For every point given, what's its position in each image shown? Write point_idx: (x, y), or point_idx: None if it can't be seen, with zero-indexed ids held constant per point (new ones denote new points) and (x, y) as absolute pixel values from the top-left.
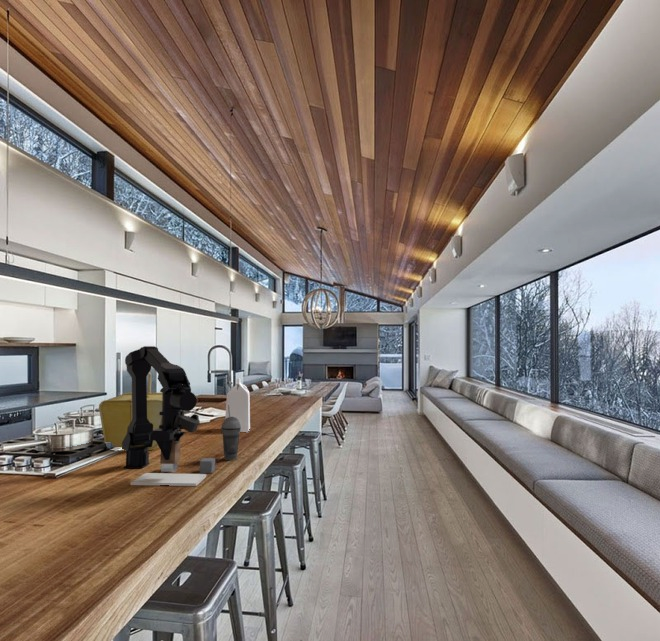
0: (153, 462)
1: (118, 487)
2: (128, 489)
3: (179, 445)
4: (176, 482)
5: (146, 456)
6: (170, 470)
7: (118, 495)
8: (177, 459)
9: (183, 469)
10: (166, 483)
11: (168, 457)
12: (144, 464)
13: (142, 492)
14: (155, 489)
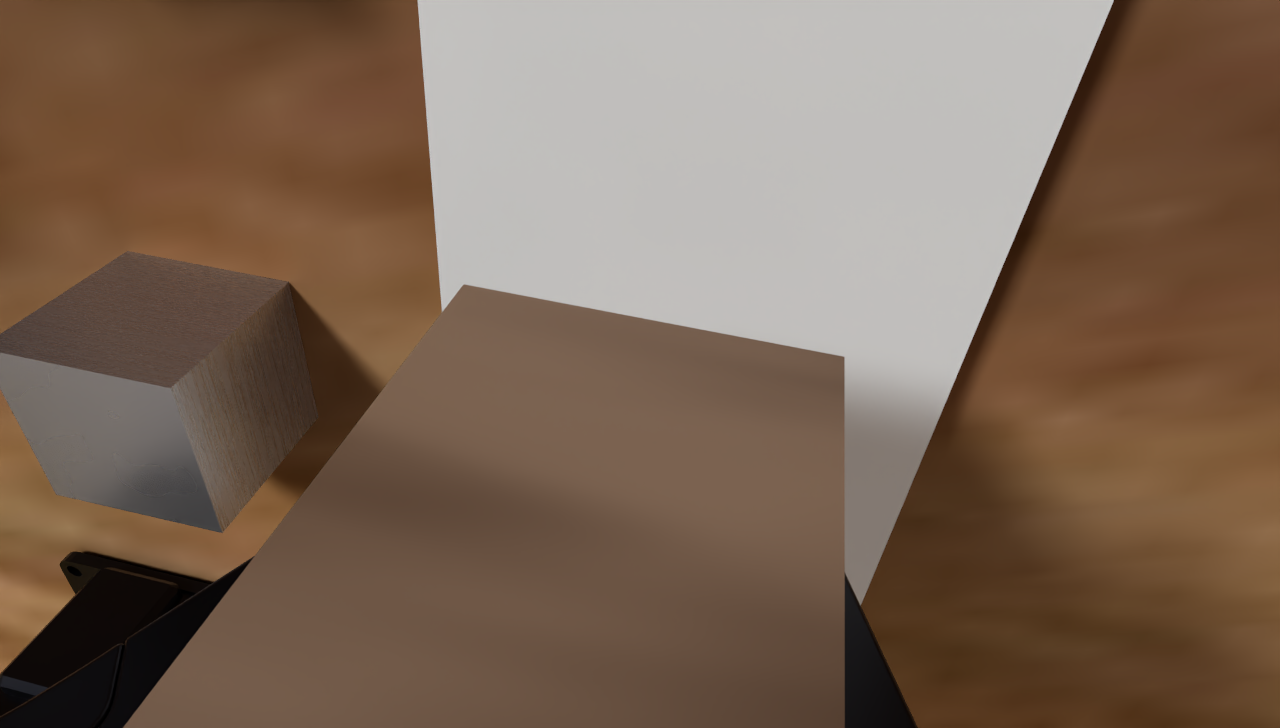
0: (8, 520)
1: (906, 701)
2: (1021, 633)
3: (315, 650)
4: (1026, 110)
5: (92, 658)
6: (277, 328)
7: (1249, 692)
8: (633, 358)
9: (97, 161)
10: (996, 277)
11: (858, 615)
12: (177, 597)
13: (1245, 507)
14: (1156, 378)
